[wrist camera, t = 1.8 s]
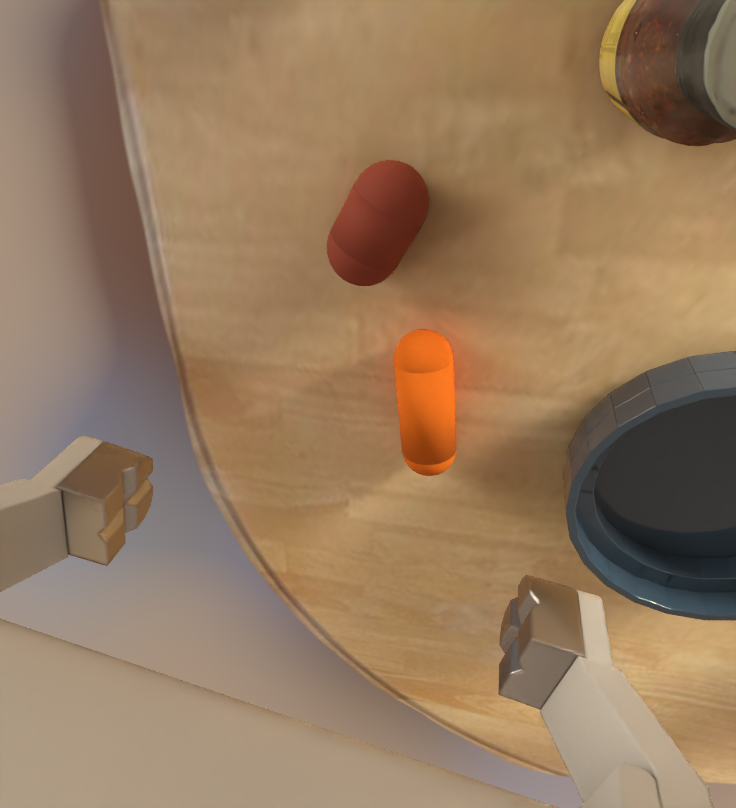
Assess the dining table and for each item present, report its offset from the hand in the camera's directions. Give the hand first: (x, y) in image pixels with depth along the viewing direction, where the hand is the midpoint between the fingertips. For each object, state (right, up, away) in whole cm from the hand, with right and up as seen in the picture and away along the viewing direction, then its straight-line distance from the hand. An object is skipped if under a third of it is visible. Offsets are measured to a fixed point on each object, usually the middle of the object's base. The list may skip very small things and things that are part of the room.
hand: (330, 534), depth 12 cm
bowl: (+25, -2, +29) cm, 38 cm away
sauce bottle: (+16, +21, +17) cm, 31 cm away
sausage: (+2, +15, +25) cm, 29 cm away
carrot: (+5, +4, +31) cm, 31 cm away
